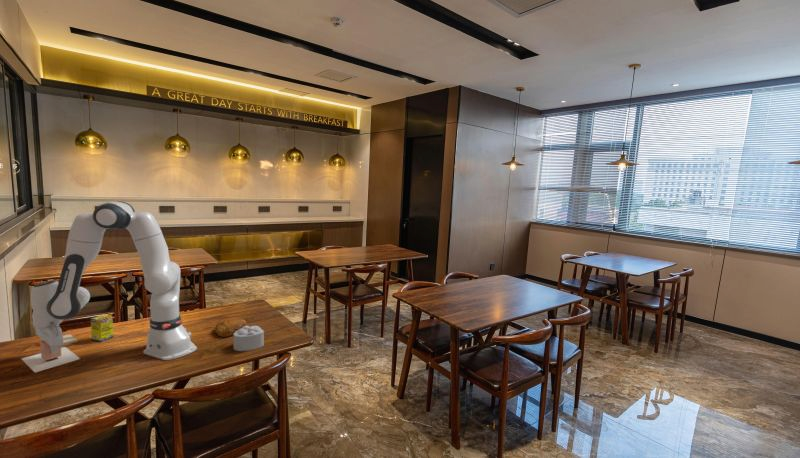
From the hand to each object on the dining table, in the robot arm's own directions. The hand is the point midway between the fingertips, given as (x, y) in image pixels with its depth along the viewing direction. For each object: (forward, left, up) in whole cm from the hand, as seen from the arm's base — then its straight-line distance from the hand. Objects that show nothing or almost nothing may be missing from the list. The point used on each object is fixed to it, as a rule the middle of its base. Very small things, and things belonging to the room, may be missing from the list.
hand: (51, 350), depth 152 cm
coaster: (+16, -7, -4) cm, 18 cm away
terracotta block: (0, 0, -2) cm, 2 cm away
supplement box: (+6, -20, -4) cm, 21 cm away
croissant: (-31, -61, -4) cm, 69 cm away
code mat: (0, 0, -4) cm, 4 cm away
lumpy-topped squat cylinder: (-52, -57, -4) cm, 77 cm away
